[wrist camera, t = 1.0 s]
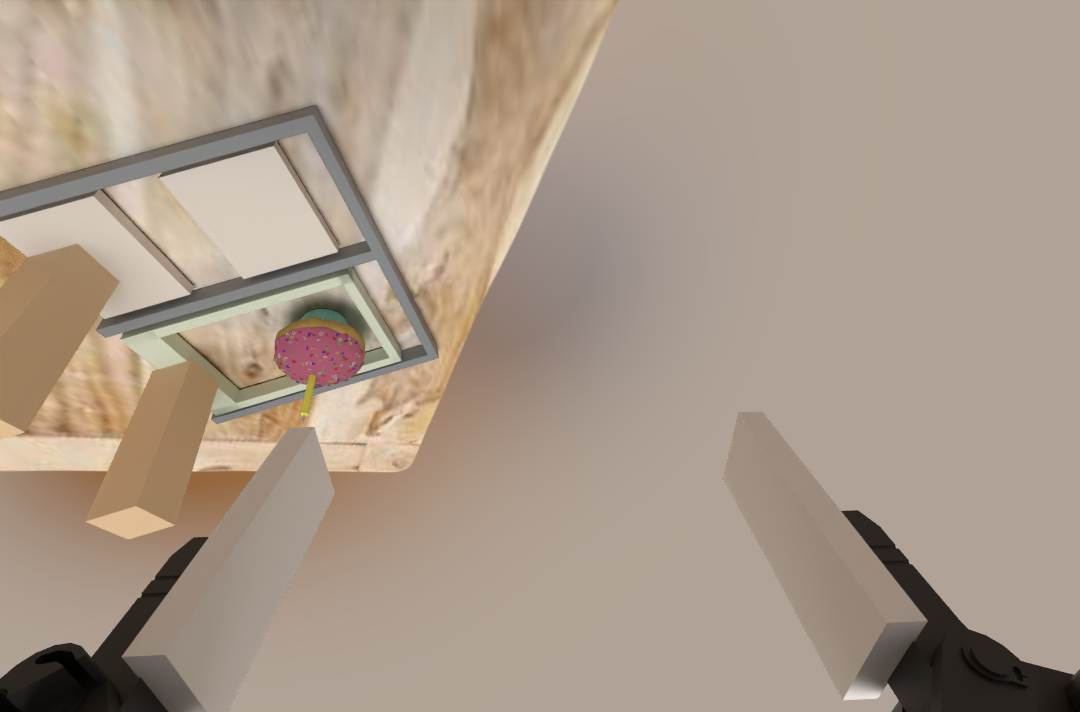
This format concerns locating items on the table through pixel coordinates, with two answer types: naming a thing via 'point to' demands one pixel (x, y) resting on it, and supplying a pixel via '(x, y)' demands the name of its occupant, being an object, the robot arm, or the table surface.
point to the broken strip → (137, 261)
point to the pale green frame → (197, 406)
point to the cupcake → (319, 351)
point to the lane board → (241, 287)
